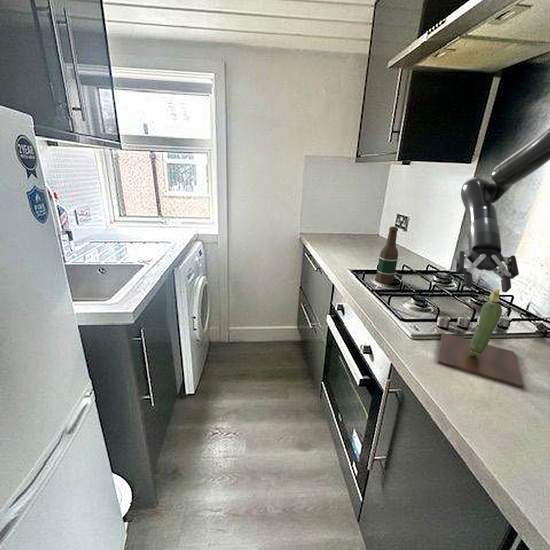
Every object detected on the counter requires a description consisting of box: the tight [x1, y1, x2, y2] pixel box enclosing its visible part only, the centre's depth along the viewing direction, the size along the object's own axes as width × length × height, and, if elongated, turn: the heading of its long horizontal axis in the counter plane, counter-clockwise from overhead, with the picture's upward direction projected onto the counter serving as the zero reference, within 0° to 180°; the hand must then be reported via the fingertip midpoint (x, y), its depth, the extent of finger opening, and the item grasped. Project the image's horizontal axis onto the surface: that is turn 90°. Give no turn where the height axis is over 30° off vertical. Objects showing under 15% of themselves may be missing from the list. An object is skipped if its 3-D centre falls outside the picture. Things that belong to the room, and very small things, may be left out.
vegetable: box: [470, 288, 503, 356], centre depth 78 cm, size 4×4×20 cm
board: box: [437, 332, 524, 389], centre depth 82 cm, size 18×16×1 cm
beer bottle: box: [375, 226, 399, 285], centre depth 128 cm, size 8×8×24 cm
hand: (487, 289), depth 80 cm, fingers open, 8 cm apart
